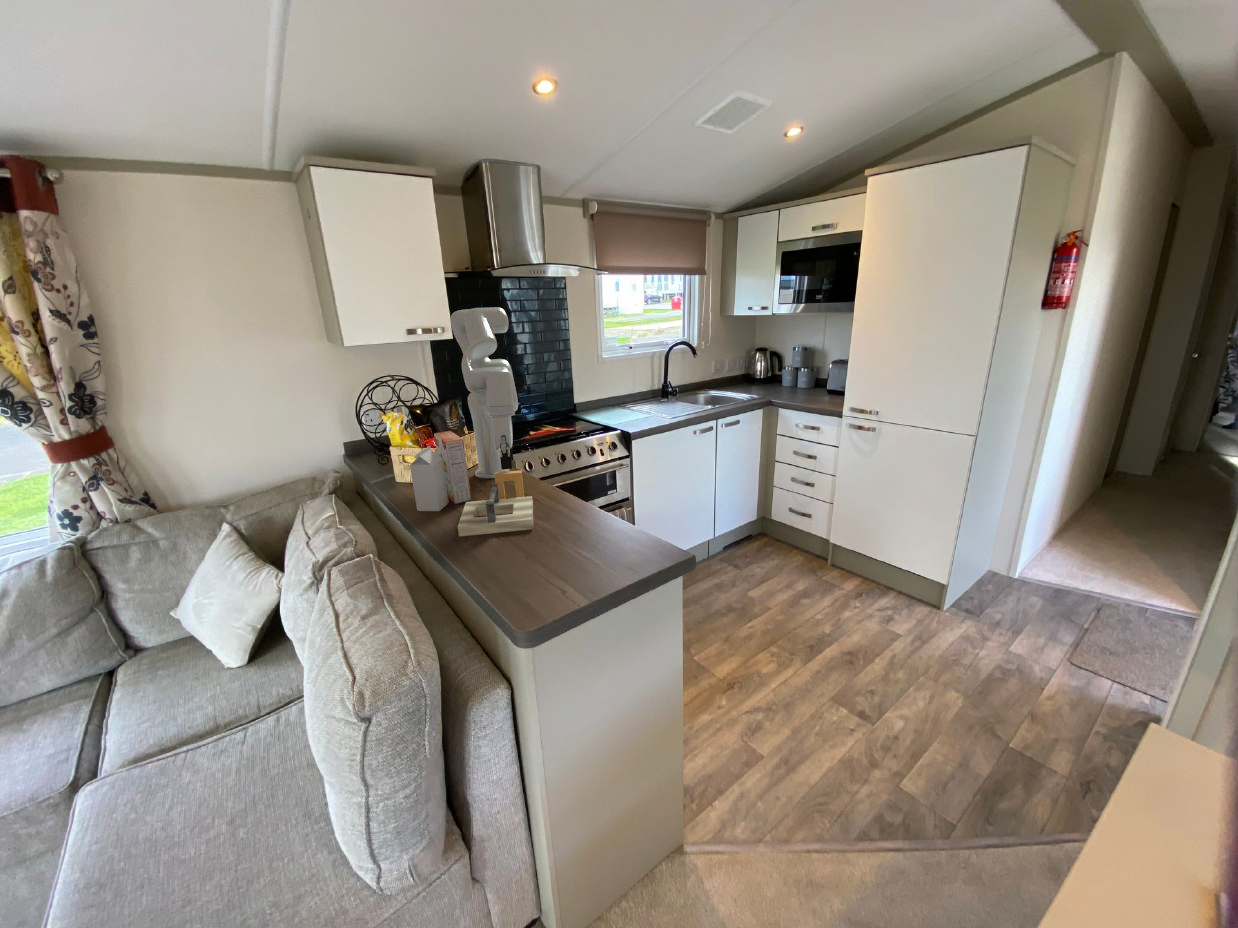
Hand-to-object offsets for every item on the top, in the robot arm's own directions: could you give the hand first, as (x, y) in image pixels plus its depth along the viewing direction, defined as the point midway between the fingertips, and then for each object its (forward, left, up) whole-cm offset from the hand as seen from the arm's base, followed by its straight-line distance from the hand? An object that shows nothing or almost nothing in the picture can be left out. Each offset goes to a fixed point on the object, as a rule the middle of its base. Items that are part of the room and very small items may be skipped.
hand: (507, 464), depth 155 cm
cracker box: (-9, -18, -13) cm, 24 cm away
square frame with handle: (+14, -4, -12) cm, 19 cm away
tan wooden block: (-1, 0, -12) cm, 12 cm away
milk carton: (-1, -24, -13) cm, 27 cm away
